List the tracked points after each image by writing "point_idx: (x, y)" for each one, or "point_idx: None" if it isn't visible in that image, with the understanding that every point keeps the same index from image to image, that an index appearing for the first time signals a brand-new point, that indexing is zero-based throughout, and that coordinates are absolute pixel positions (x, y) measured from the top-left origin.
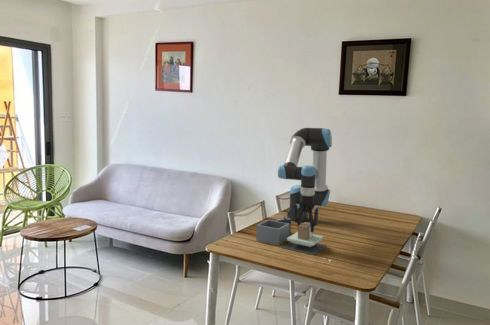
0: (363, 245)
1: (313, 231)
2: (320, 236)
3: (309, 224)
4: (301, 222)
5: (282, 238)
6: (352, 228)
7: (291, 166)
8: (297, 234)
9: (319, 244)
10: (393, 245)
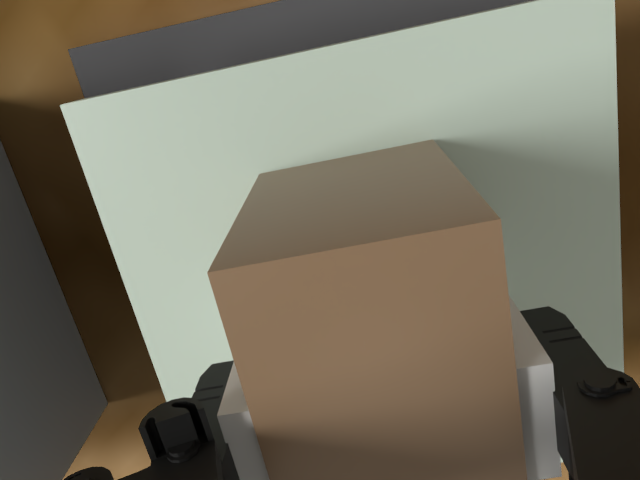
0: None
1: (555, 315)
2: (574, 48)
3: (458, 379)
4: (207, 424)
5: (40, 342)
6: None
7: None
8: (187, 270)
9: (489, 7)
10: None
